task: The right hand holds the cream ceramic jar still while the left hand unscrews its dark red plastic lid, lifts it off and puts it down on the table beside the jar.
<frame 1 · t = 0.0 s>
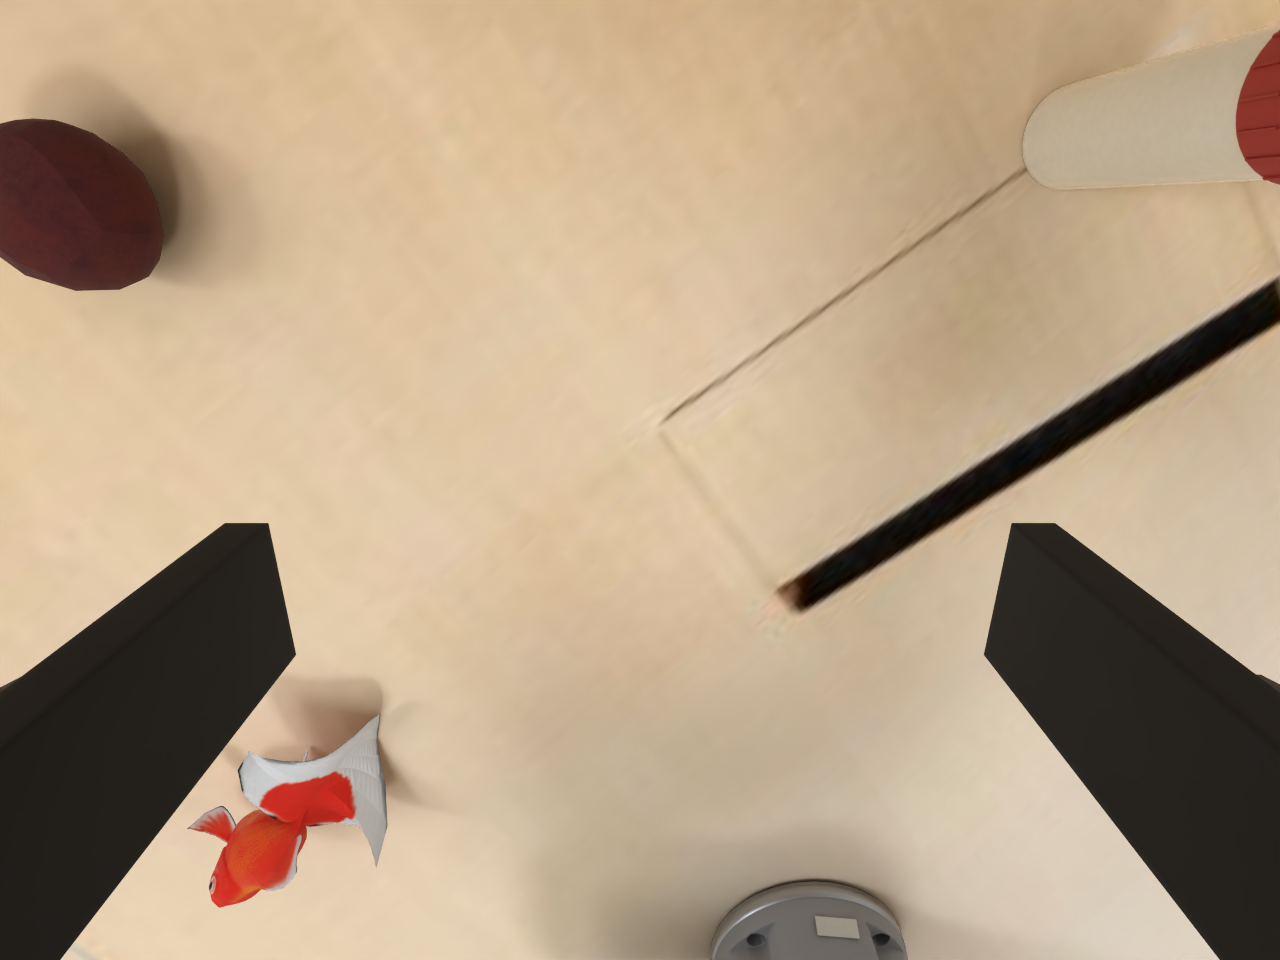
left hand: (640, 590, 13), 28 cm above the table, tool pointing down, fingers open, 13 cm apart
fish: (320, 762, 50), on the table
jar: (1071, 137, 35), on the table
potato: (124, 211, 36), on the table
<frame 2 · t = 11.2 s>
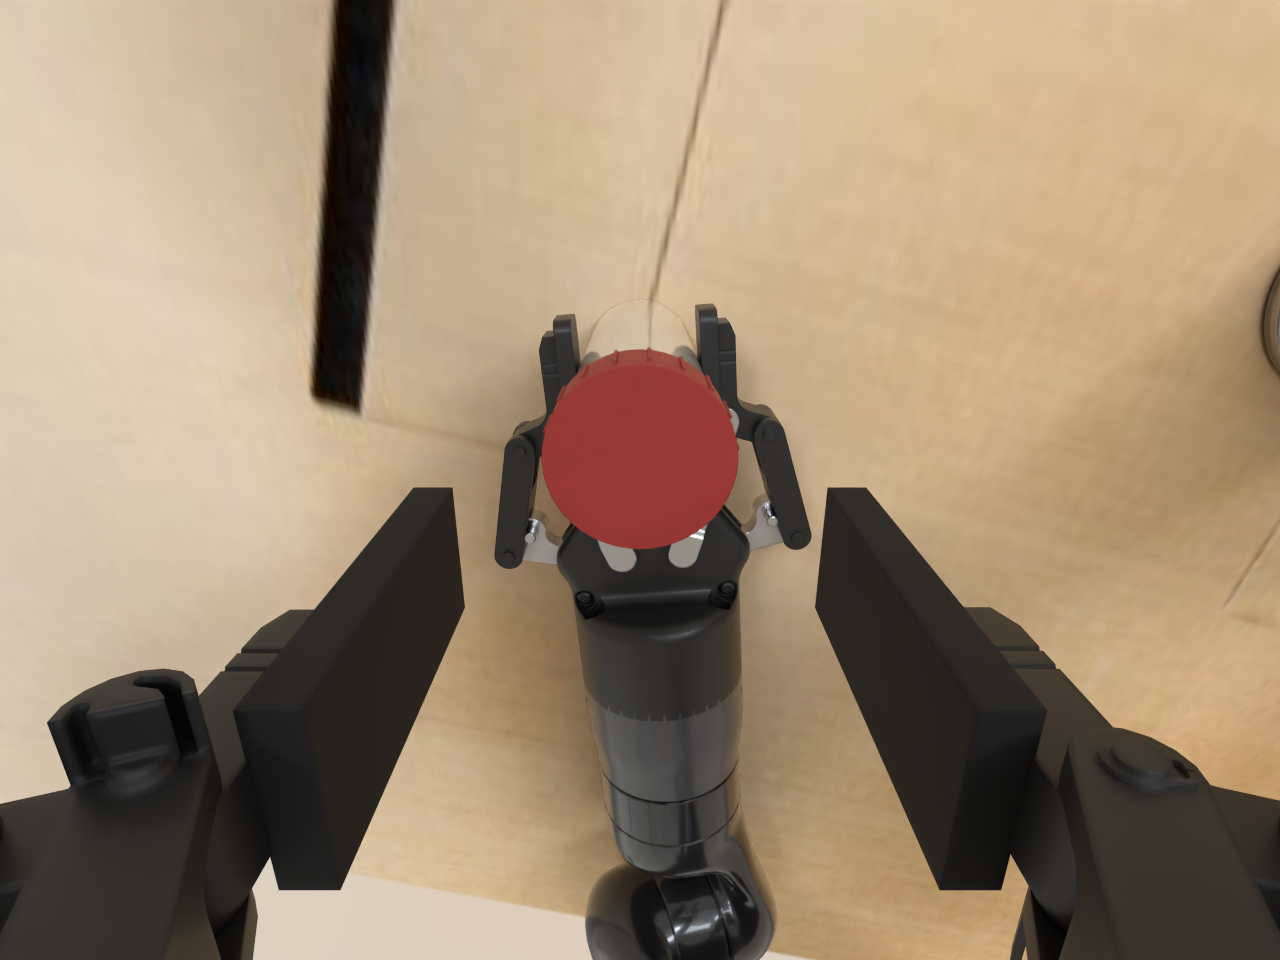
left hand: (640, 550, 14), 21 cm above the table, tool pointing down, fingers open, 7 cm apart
right hand: (634, 313, 27), fingers closed on jar, 5 cm apart
lid: (640, 457, 19), point 16 cm above the table, screwed on, not yet turned
jar: (639, 351, 34), on the table, touching right hand
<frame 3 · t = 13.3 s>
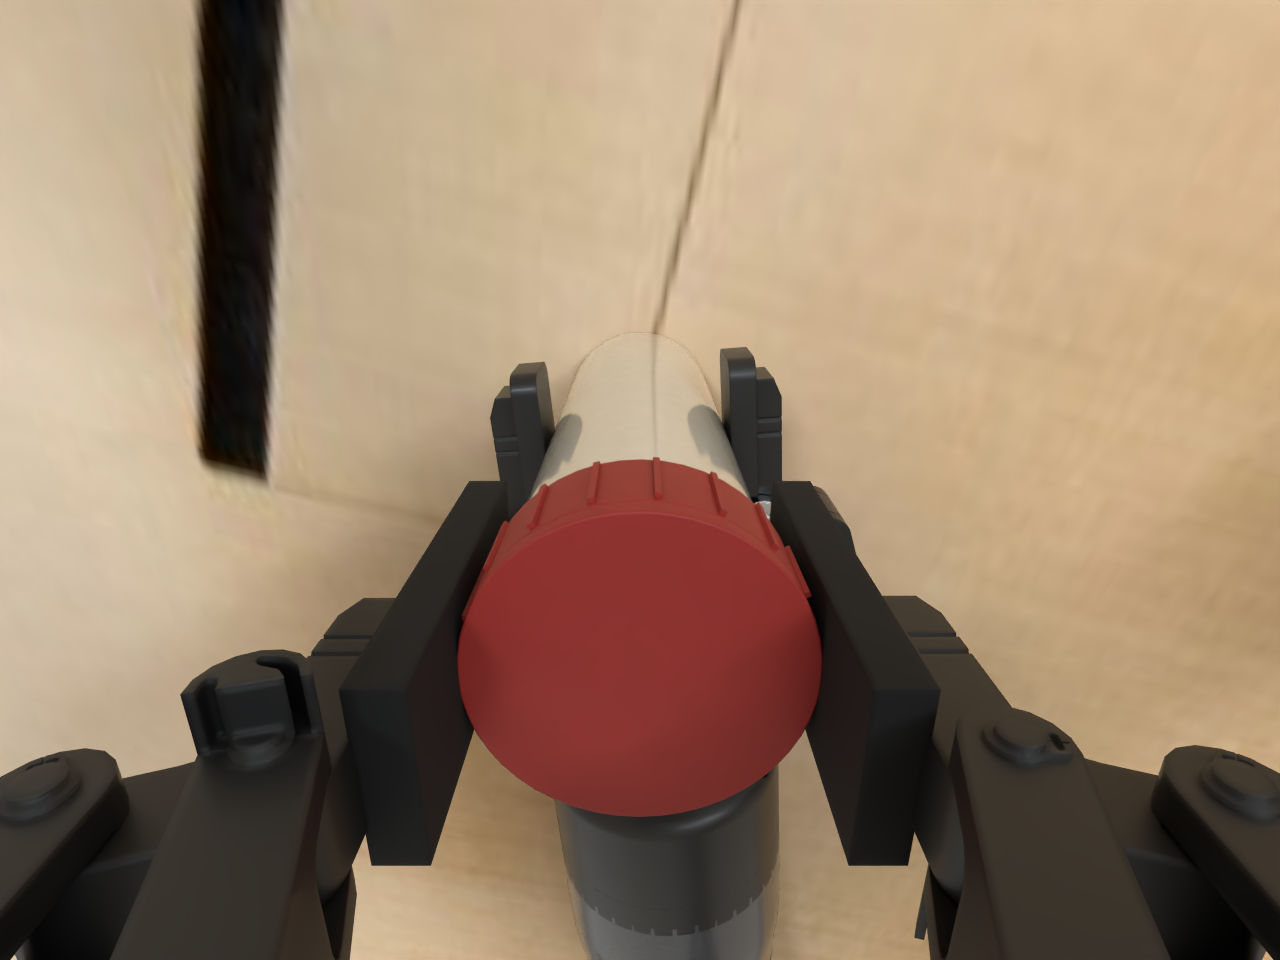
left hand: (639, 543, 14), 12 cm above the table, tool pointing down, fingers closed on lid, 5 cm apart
lid: (639, 664, 11), point 16 cm above the table, screwed on, not yet turned, touching left hand
jar: (639, 400, 25), on the table, touching right hand
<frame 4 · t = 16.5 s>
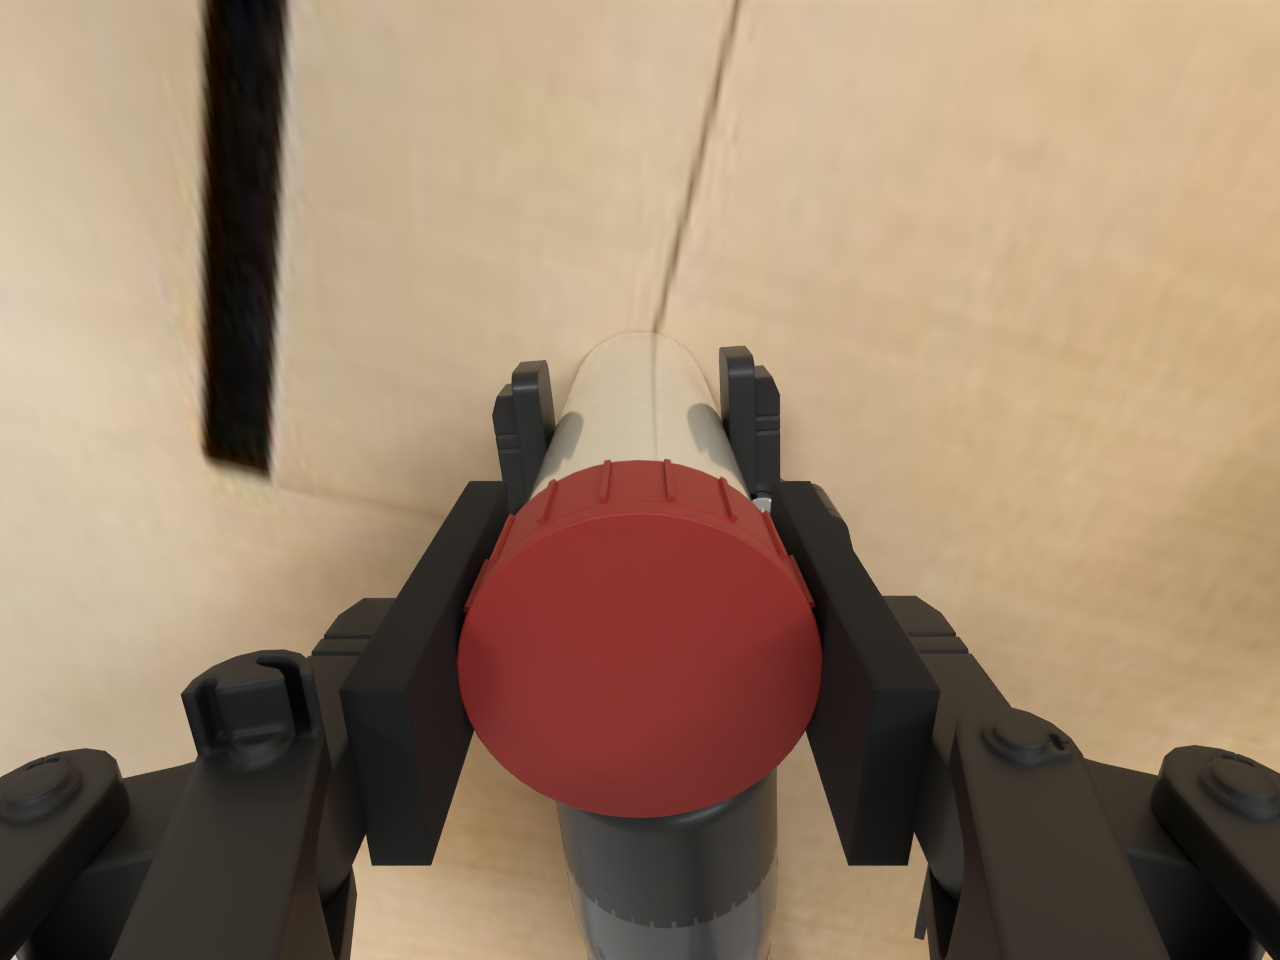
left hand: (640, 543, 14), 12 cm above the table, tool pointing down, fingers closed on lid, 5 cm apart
lid: (639, 665, 11), point 16 cm above the table, turned 76° so far, risen 0.3 cm, still on its thread, touching left hand
jar: (639, 399, 25), on the table, touching right hand
when the left hand's fingers open (0 cm above the table, at t = 22.6 s): lid drops 2 cm, point 2 cm above the table.
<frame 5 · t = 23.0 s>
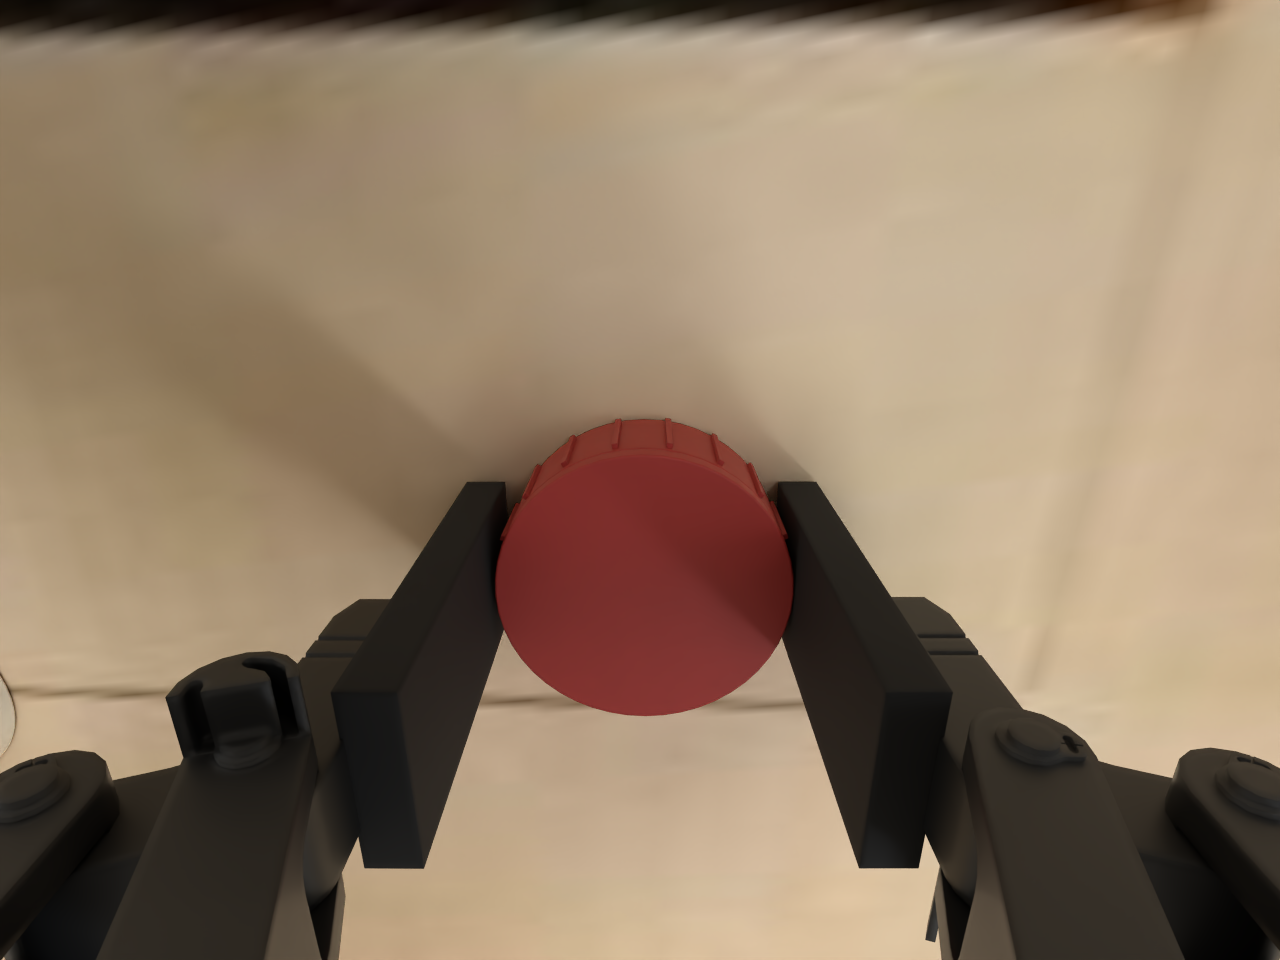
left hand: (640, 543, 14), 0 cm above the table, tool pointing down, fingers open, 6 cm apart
lid: (644, 586, 13), point 2 cm above the table, off its thread
when the right hand's fingers open (6 cm above the table, at t = 23.7 s): jar stays where it is, on the table.
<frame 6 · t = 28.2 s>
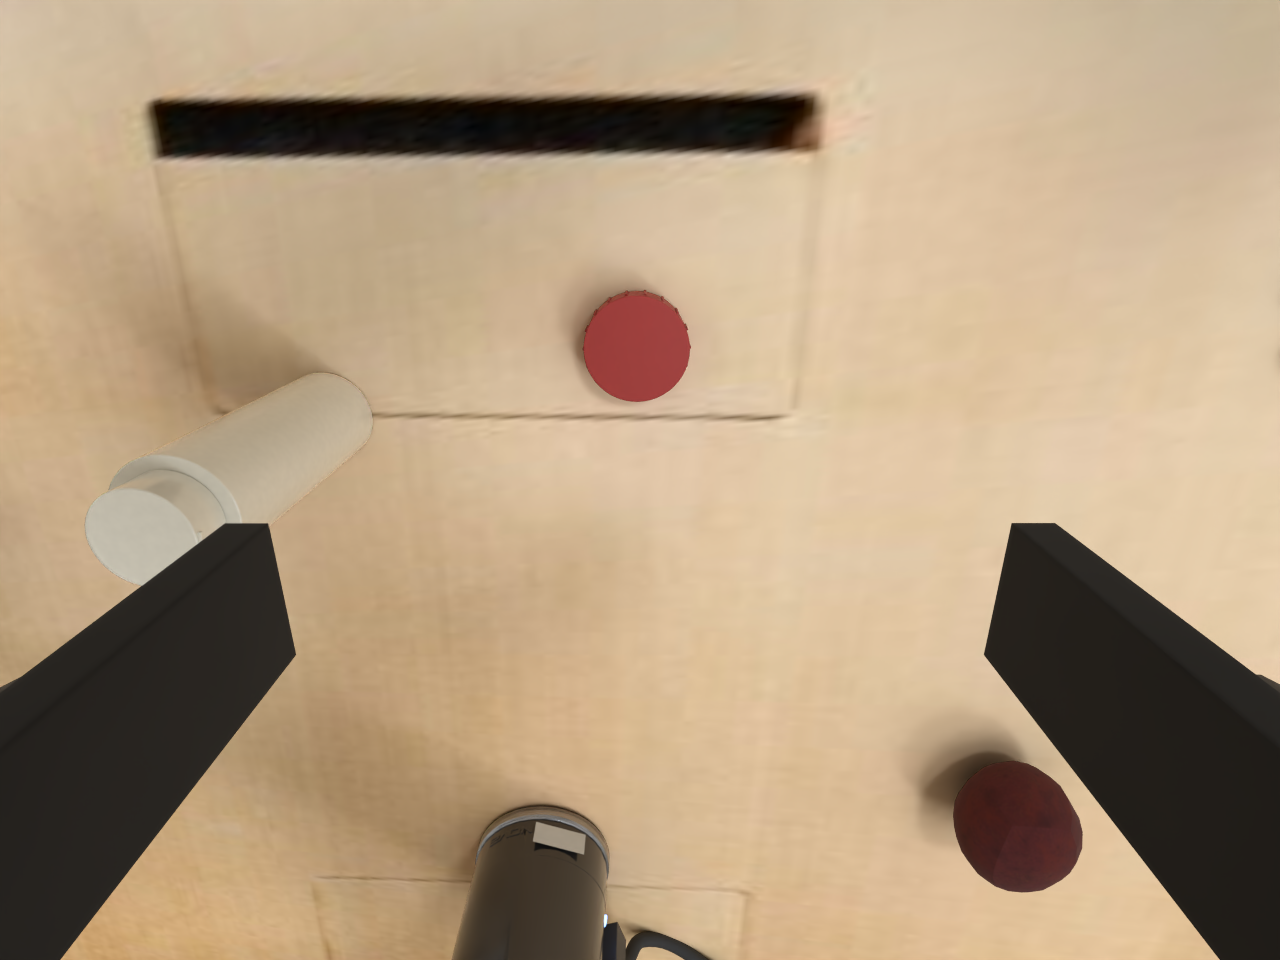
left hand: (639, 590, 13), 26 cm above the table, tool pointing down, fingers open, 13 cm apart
lid: (636, 348, 36), point 2 cm above the table, off its thread
jar: (328, 415, 39), on the table
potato: (989, 780, 48), on the table
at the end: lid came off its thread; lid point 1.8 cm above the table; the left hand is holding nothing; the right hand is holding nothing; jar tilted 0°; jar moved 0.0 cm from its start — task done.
